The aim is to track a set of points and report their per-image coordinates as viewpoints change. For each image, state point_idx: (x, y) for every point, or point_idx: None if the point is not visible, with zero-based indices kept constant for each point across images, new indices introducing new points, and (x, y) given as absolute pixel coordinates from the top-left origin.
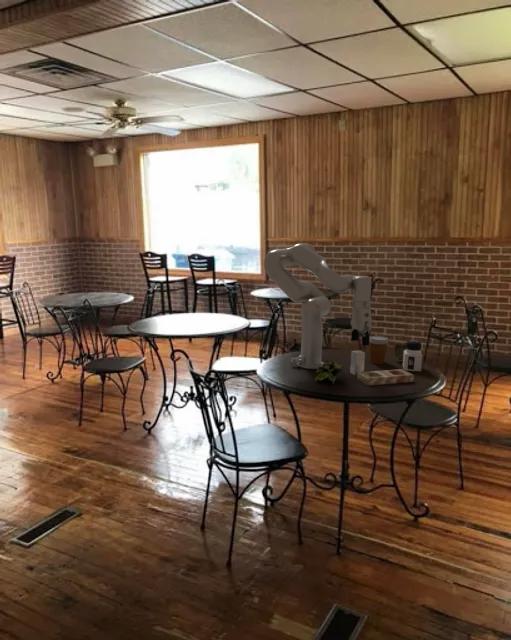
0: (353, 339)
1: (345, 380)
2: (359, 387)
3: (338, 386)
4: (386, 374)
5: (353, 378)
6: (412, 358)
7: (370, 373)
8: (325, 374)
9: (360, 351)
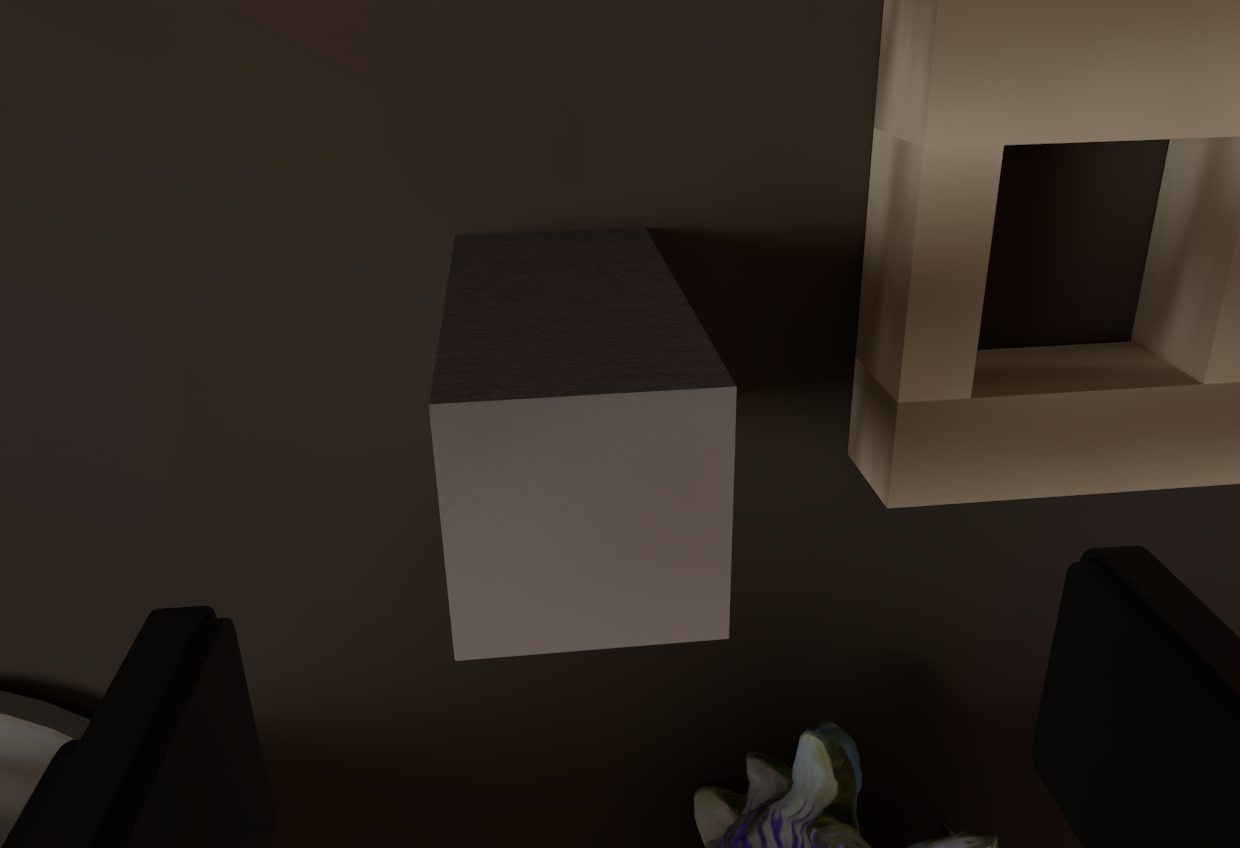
0: (256, 817)
1: (844, 630)
2: (1182, 566)
3: (1033, 787)
4: (1212, 5)
5: (792, 487)
6: None
7: (979, 277)
8: None
9: (548, 444)
